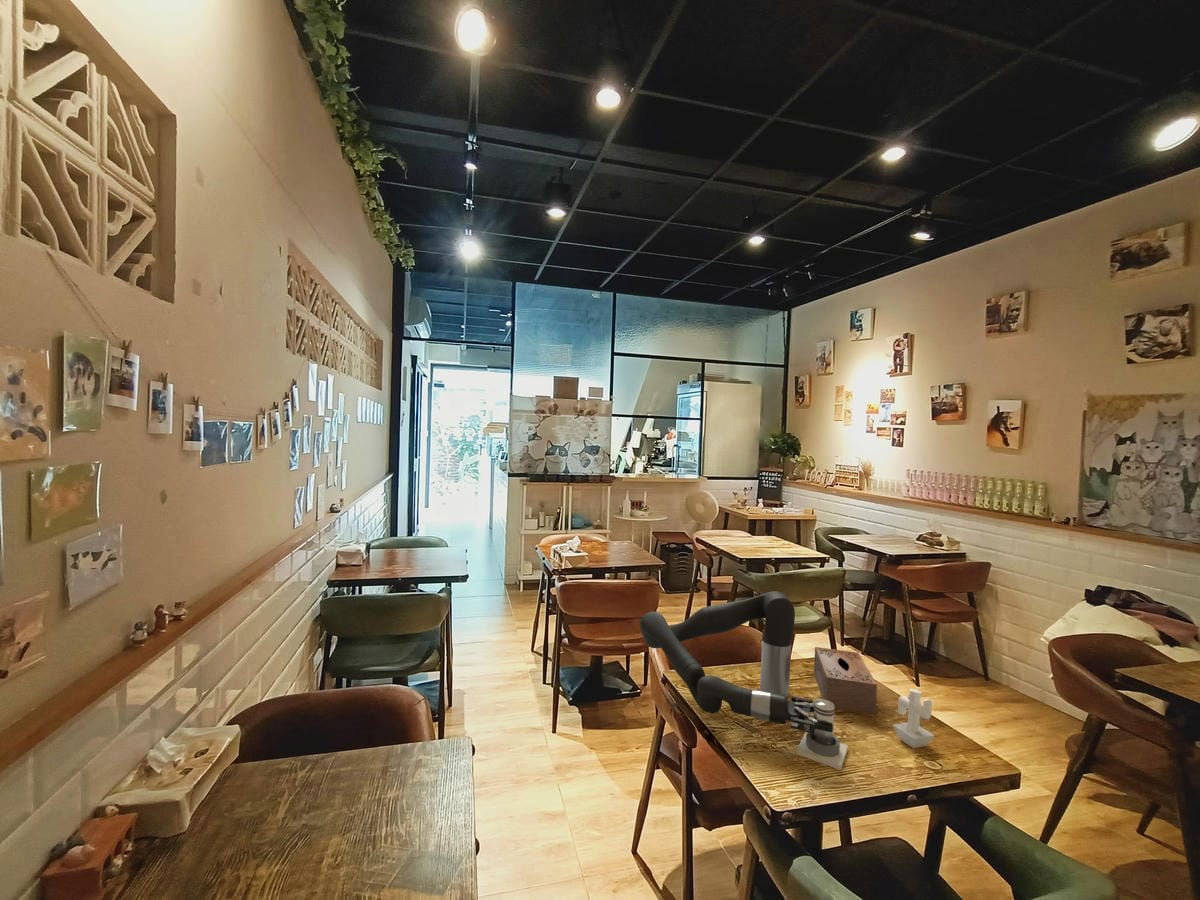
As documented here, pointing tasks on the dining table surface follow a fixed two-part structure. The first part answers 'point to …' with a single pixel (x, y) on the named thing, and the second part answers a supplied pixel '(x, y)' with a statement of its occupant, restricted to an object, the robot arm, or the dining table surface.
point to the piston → (823, 713)
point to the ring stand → (823, 751)
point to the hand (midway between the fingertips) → (831, 720)
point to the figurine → (914, 719)
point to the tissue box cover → (845, 680)
